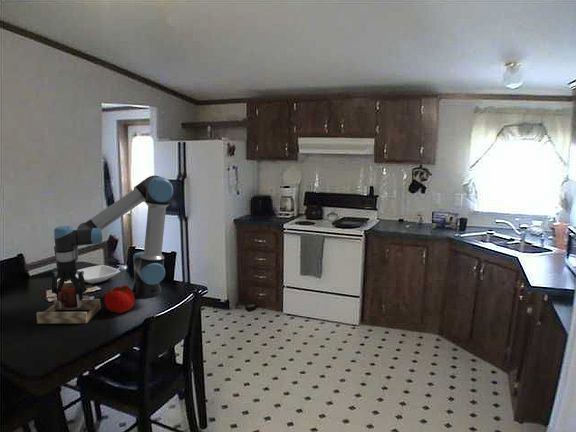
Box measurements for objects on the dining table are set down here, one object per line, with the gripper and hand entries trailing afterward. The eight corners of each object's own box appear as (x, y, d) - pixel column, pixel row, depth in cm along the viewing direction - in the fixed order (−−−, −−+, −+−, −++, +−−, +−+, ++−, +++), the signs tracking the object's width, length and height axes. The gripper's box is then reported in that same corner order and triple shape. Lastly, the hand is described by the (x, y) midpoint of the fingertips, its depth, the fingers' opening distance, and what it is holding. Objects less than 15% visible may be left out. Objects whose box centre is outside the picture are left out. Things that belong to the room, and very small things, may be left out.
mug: (70, 301, 196) (68, 281, 194) (86, 303, 194) (85, 282, 192) (52, 311, 184) (49, 290, 183) (69, 313, 183) (66, 291, 181)
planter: (83, 273, 250) (81, 245, 247) (60, 278, 241) (58, 249, 238) (75, 268, 259) (73, 242, 256) (53, 273, 250) (50, 245, 246)
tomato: (122, 318, 189) (121, 294, 187) (98, 313, 193) (97, 289, 191) (141, 307, 201) (140, 285, 199) (119, 303, 206) (117, 281, 204)
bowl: (102, 272, 253) (102, 263, 252) (124, 280, 240) (123, 271, 239) (66, 281, 235) (65, 272, 234) (87, 290, 222) (86, 280, 221)
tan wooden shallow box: (100, 308, 199) (100, 299, 198) (86, 323, 182) (85, 312, 182) (55, 308, 197) (54, 299, 196) (37, 323, 181) (36, 313, 180)
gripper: (92, 257, 189) (96, 303, 194) (47, 257, 188) (52, 303, 192) (85, 261, 182) (89, 309, 186) (38, 262, 181) (44, 310, 185)
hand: (70, 306), depth 189 cm, fingers closed on mug, 7 cm apart
